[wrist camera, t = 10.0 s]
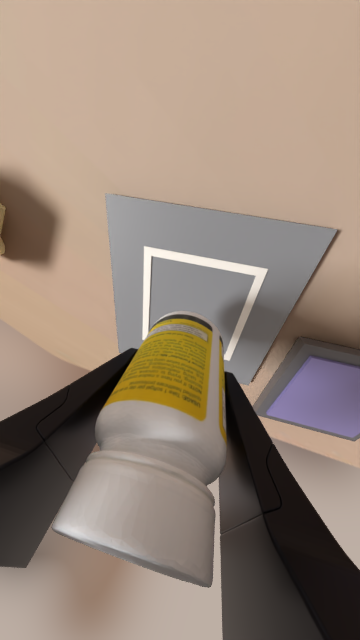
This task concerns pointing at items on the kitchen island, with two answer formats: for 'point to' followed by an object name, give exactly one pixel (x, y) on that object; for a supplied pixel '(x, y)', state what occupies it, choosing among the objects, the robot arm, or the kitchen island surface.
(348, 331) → the kitchen island surface
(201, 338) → the supplement bottle
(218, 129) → the kitchen island surface
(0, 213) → the cream tiered block
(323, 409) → the pad
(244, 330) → the board
